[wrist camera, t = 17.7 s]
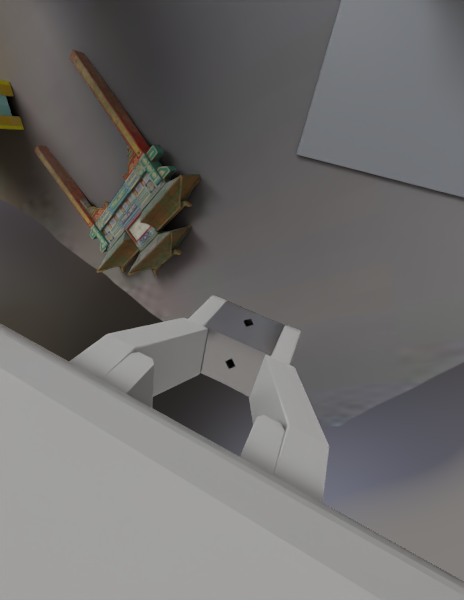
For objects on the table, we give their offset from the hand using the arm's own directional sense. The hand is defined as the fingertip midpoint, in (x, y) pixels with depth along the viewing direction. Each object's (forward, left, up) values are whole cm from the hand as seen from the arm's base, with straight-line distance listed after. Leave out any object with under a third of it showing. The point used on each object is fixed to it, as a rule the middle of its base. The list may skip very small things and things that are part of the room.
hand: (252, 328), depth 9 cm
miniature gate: (-33, -8, -32) cm, 47 cm away
